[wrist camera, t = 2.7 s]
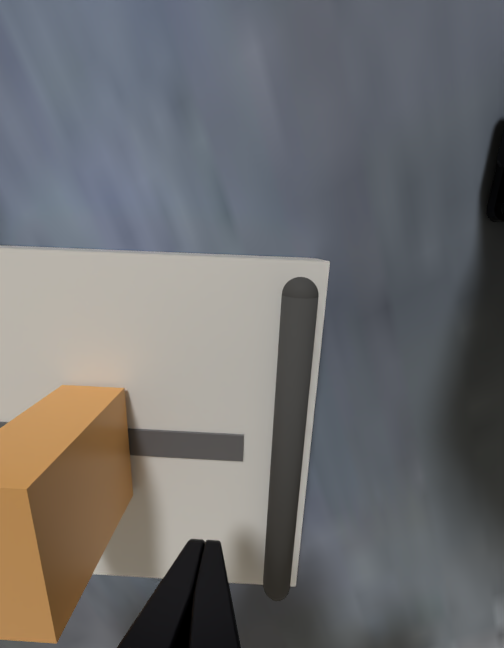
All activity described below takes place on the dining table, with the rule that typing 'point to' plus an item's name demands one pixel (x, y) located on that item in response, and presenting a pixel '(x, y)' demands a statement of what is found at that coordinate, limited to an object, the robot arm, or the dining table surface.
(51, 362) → the box
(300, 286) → the pair of mounting rails
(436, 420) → the dining table surface
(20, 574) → the handle
